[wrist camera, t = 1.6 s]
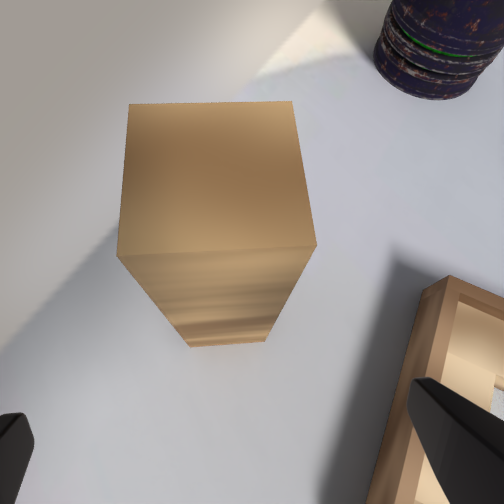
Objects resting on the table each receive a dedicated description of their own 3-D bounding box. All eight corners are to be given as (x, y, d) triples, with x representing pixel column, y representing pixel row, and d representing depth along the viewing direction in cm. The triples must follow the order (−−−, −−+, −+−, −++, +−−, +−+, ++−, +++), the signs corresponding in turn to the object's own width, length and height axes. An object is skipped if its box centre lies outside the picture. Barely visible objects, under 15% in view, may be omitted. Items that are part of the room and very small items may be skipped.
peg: (264, 341, 21) (317, 245, 8) (190, 347, 20) (116, 256, 7) (258, 272, 22) (291, 101, 10) (189, 276, 22) (129, 104, 9)
